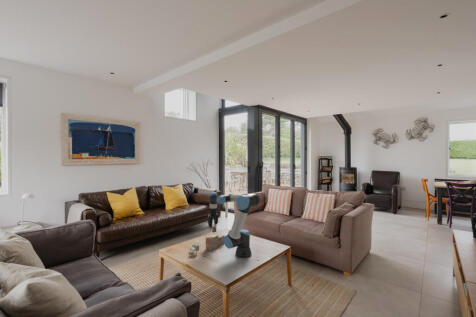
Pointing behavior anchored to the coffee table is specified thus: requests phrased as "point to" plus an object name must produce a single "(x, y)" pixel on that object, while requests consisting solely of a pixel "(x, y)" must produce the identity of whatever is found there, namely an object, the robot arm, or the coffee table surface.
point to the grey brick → (196, 246)
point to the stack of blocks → (214, 241)
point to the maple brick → (193, 253)
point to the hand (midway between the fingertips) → (213, 230)
